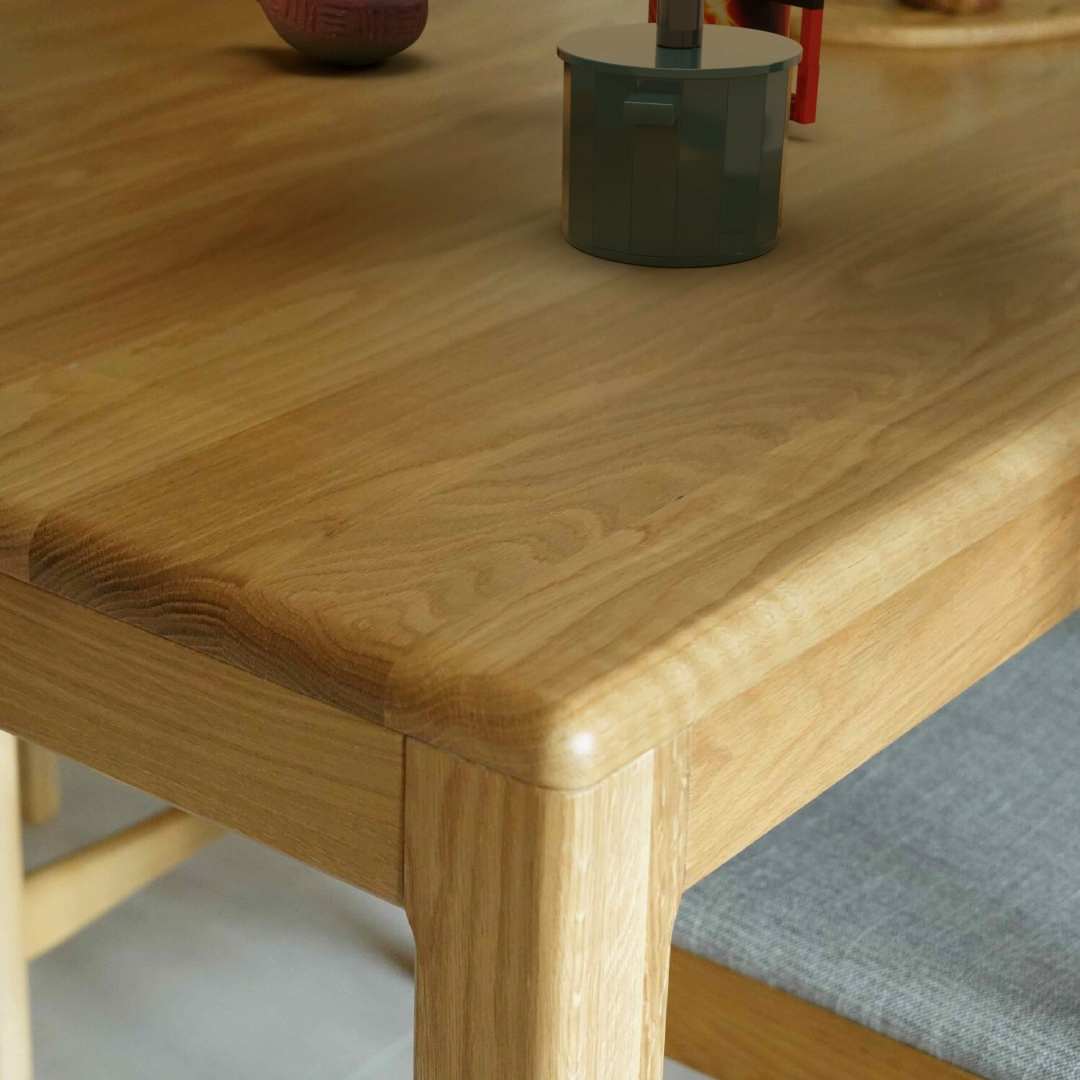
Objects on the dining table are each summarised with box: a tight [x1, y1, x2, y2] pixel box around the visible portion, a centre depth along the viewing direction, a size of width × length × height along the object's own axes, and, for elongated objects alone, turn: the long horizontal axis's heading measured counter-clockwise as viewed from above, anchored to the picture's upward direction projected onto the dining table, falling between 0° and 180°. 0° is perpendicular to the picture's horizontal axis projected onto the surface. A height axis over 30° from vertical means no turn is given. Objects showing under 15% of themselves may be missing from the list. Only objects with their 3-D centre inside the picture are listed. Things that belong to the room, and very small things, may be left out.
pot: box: [561, 61, 794, 268], centre depth 87 cm, size 12×17×10 cm
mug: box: [647, 0, 825, 125], centre depth 111 cm, size 10×14×12 cm
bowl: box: [255, 0, 429, 67], centre depth 128 cm, size 16×13×8 cm
